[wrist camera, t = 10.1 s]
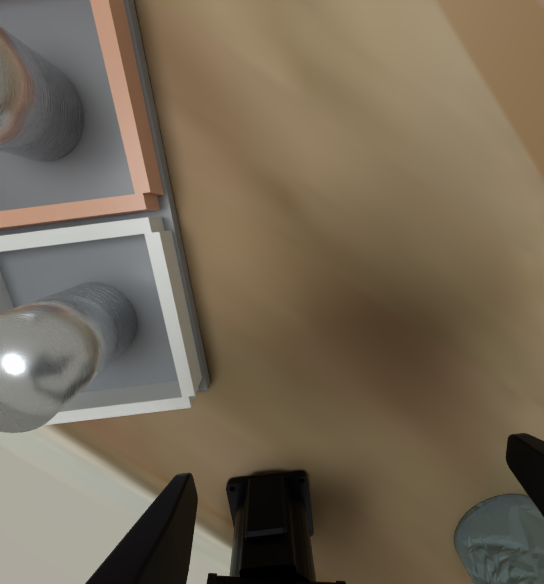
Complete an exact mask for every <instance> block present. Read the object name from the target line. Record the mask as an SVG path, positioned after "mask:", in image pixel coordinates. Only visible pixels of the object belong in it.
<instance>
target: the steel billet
mask: <svg viewBox="0 0 544 584" xmlns="http://www.w3.org/2000/svg"><path fill="white" fill-rule="evenodd" d="M83 129H84V110H83V105H82V102H81V99H80V96H79V94H78V92H77V90H76V88H75V86H74V85H73V83H72V82H71V81H70V79H69V78H68V77H67V76H66V75H65V74H64V73H63V72H62V71H61V70H60V69H59V68H58V67H56V66H55V65H53V64H52V63H51V62H49V61H48V60H46V59H45V58H44V57H42V56H41V55H40V54H38V53H37V52H35V51H34V50H33V49H31V48H30V47H28V46H27V45H26V44H24V43H23V42H22V41H20V40H19V39H17V38H16V37H15V36H13V35H12V34H10V33H9V32H8V31H6V30H5V29H4V28H2V27H1V26H0V151H1V152H5V153H9V154H13V155H17V156H21V157H25V158H29V159H33V160H37V161H54V160H58V159H61V158H63V157H65V156H67V155H68V154H69V153H71V152H72V151H73V150H74V149H75V148H76V146H77V145H78V143H79V141H80V139H81V137H82V133H83Z"/></svg>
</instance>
